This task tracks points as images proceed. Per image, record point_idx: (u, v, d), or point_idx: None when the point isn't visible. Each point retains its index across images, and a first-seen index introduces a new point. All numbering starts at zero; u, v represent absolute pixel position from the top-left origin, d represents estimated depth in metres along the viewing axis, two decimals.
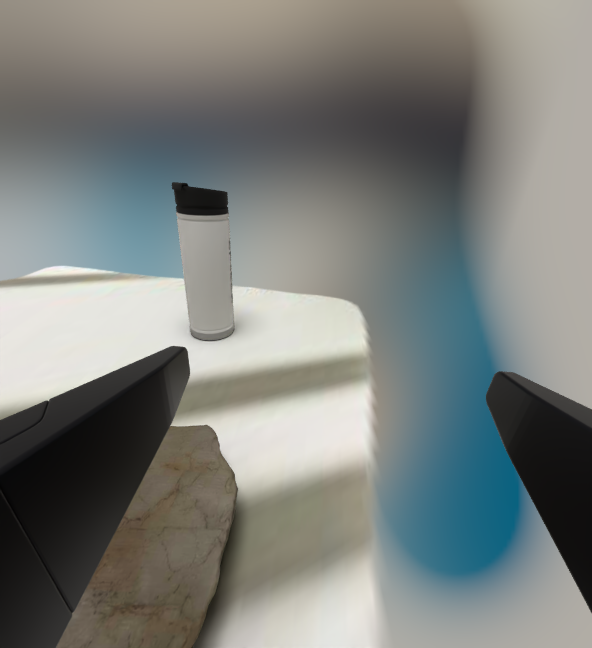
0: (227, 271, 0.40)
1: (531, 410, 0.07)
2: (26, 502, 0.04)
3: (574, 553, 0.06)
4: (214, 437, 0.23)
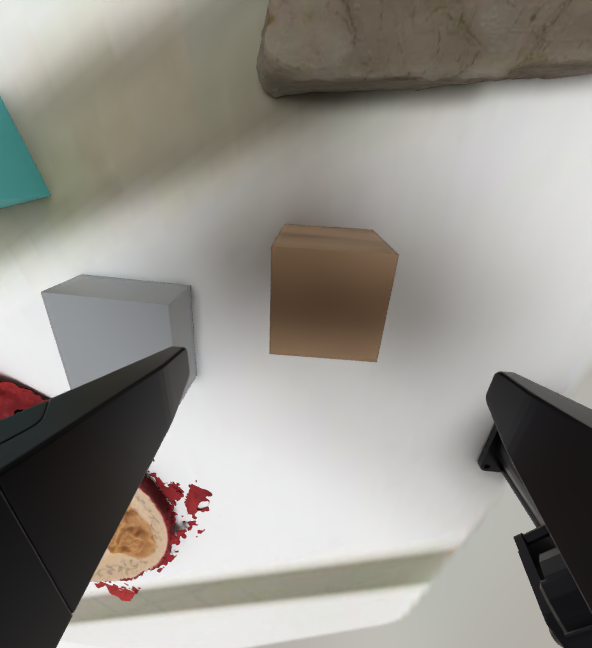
0: None
1: (532, 410, 0.07)
2: (26, 502, 0.04)
3: (574, 553, 0.06)
4: None
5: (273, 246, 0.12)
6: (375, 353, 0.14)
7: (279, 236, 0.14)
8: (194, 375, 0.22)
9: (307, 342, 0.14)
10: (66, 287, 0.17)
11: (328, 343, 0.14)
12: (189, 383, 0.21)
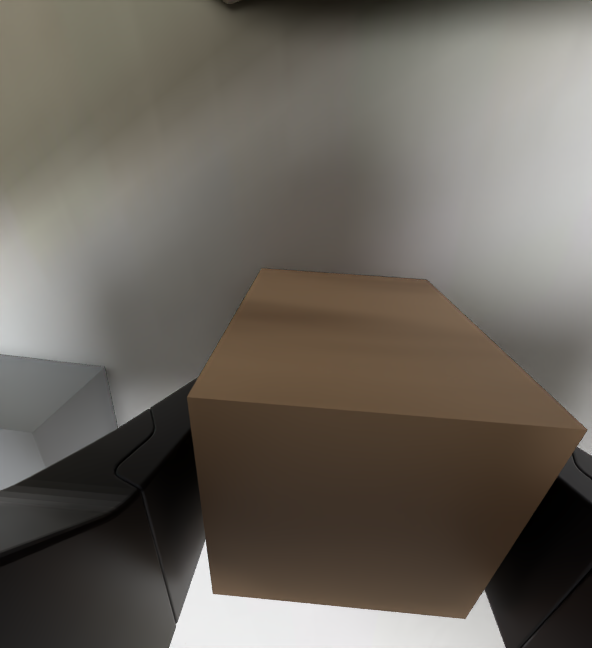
0: None
1: None
2: (157, 515, 0.04)
3: None
4: None
5: (194, 396, 0.04)
6: (465, 606, 0.06)
7: (234, 324, 0.06)
8: None
9: (301, 583, 0.06)
10: None
11: (352, 586, 0.06)
12: None
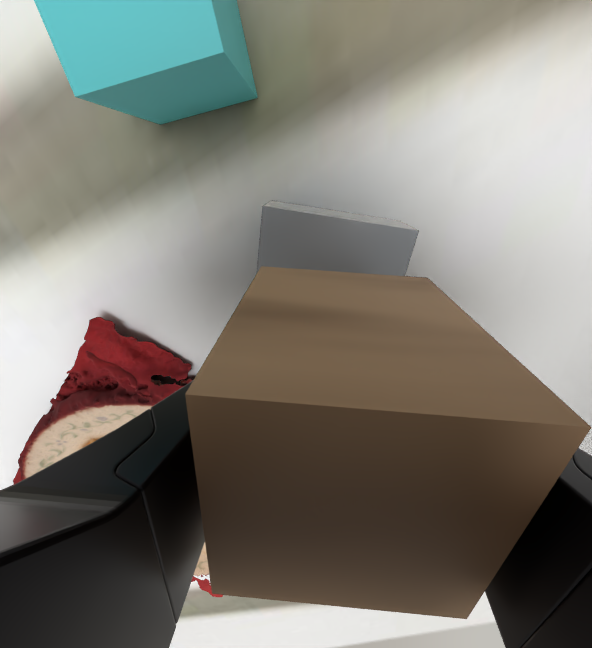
0: None
1: None
2: (158, 514, 0.04)
3: None
4: None
5: (192, 393, 0.04)
6: (466, 606, 0.06)
7: (233, 321, 0.06)
8: None
9: (301, 582, 0.06)
10: (280, 206, 0.14)
11: (352, 585, 0.06)
12: None
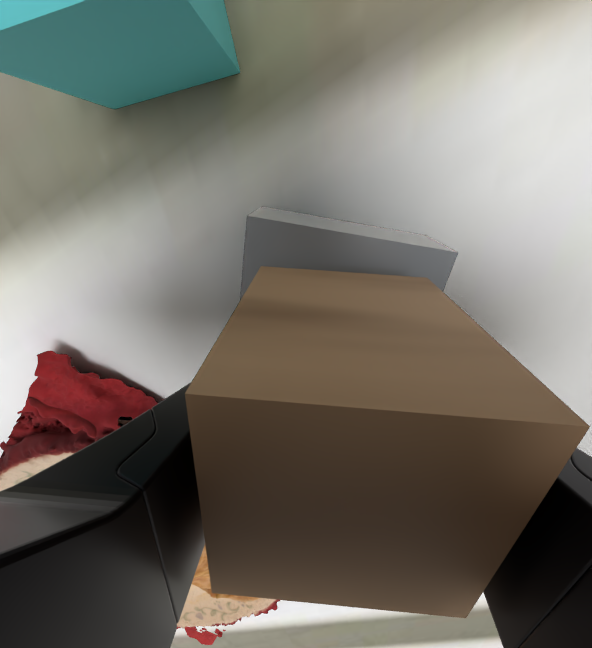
0: None
1: None
2: (158, 514, 0.04)
3: None
4: None
5: (192, 392, 0.04)
6: (465, 605, 0.06)
7: (233, 321, 0.06)
8: None
9: (301, 582, 0.06)
10: (272, 215, 0.11)
11: (352, 585, 0.06)
12: None
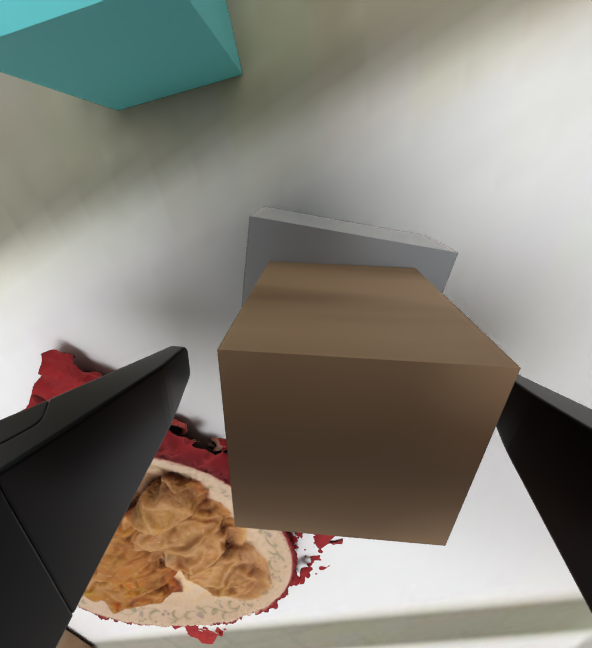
0: None
1: (532, 410, 0.07)
2: (26, 501, 0.04)
3: (574, 553, 0.06)
4: None
5: (222, 349, 0.05)
6: (443, 533, 0.07)
7: (248, 302, 0.07)
8: None
9: (307, 513, 0.07)
10: (274, 215, 0.11)
11: (349, 515, 0.07)
12: None
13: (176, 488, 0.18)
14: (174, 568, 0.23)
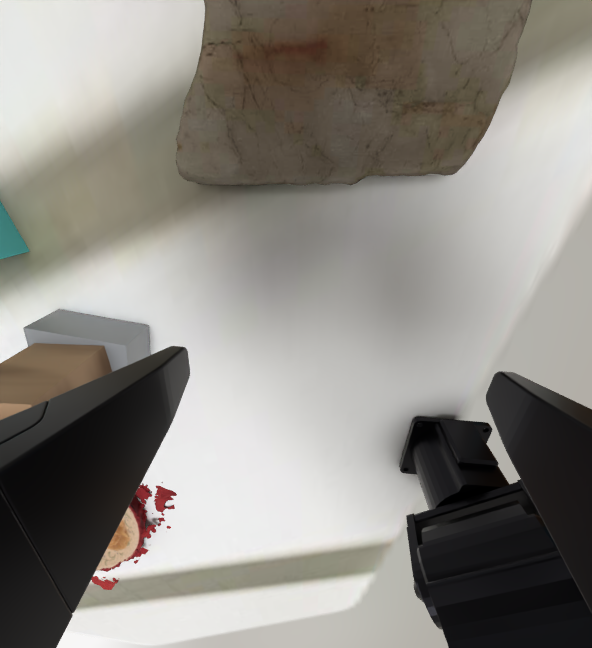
0: None
1: (531, 410, 0.07)
2: (26, 502, 0.04)
3: (574, 553, 0.06)
4: None
5: None
6: None
7: None
8: None
9: None
10: (45, 323, 0.22)
11: None
12: None
13: None
14: None
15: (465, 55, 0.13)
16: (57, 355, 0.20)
